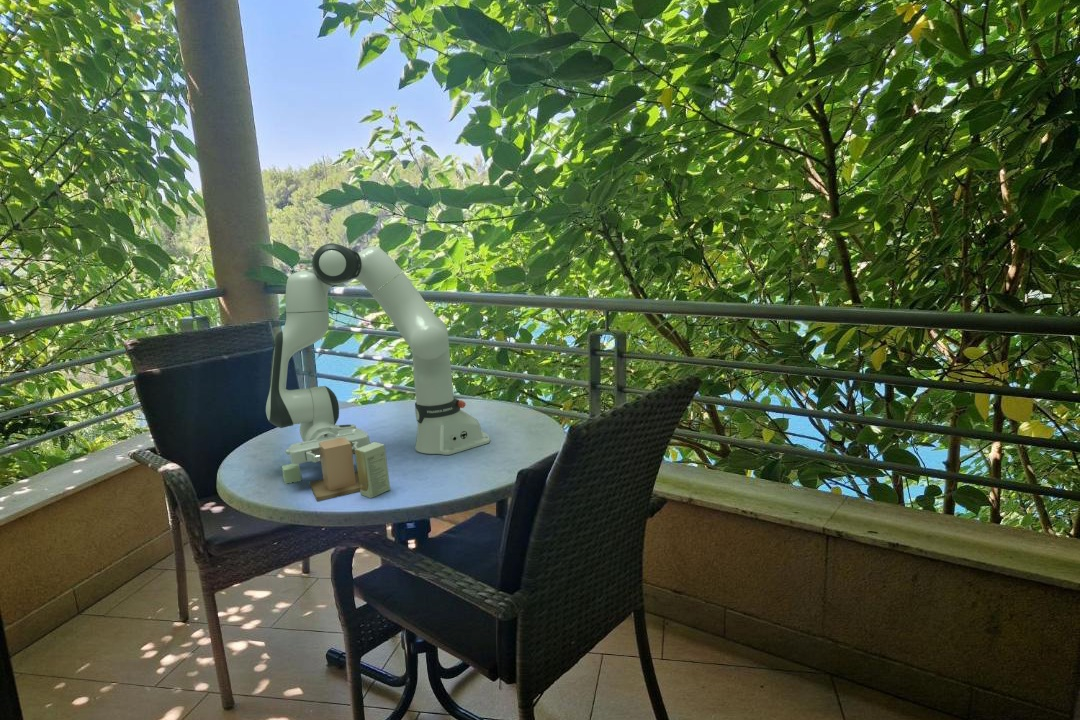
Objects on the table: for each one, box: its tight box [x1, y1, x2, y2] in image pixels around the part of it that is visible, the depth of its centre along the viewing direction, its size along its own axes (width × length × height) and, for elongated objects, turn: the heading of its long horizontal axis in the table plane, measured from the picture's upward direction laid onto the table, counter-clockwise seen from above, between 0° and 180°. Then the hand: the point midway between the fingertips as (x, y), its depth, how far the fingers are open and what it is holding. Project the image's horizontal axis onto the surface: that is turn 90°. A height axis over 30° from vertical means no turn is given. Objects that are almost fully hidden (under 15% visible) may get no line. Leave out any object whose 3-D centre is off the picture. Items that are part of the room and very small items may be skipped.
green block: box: [281, 463, 302, 485], centre depth 167 cm, size 4×4×4 cm
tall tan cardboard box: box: [319, 437, 356, 491], centre depth 160 cm, size 7×7×11 cm
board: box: [309, 470, 361, 502], centre depth 161 cm, size 13×12×1 cm
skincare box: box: [354, 441, 391, 499], centre depth 155 cm, size 6×4×12 cm
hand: (336, 455), depth 158 cm, fingers open, 8 cm apart
